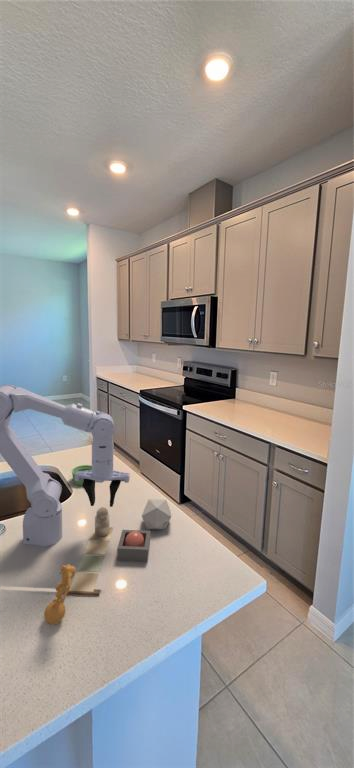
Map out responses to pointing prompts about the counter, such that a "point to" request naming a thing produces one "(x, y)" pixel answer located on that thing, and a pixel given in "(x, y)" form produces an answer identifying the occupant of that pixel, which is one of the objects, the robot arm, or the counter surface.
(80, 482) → the ramekin
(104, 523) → the pawn
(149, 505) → the die
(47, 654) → the counter surface
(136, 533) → the popper dome
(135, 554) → the frame
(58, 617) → the figurine
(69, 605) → the counter surface
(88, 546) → the board
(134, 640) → the counter surface
